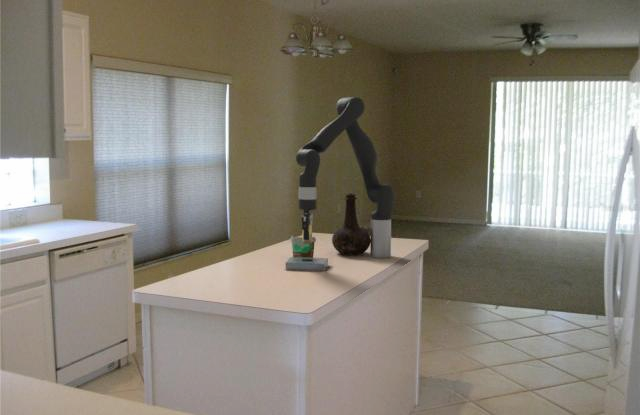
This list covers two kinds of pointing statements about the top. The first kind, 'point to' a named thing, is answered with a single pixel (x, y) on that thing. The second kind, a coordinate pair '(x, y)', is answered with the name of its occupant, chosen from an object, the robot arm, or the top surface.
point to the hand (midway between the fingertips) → (307, 238)
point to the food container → (302, 247)
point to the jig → (307, 264)
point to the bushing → (309, 236)
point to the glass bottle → (351, 232)
